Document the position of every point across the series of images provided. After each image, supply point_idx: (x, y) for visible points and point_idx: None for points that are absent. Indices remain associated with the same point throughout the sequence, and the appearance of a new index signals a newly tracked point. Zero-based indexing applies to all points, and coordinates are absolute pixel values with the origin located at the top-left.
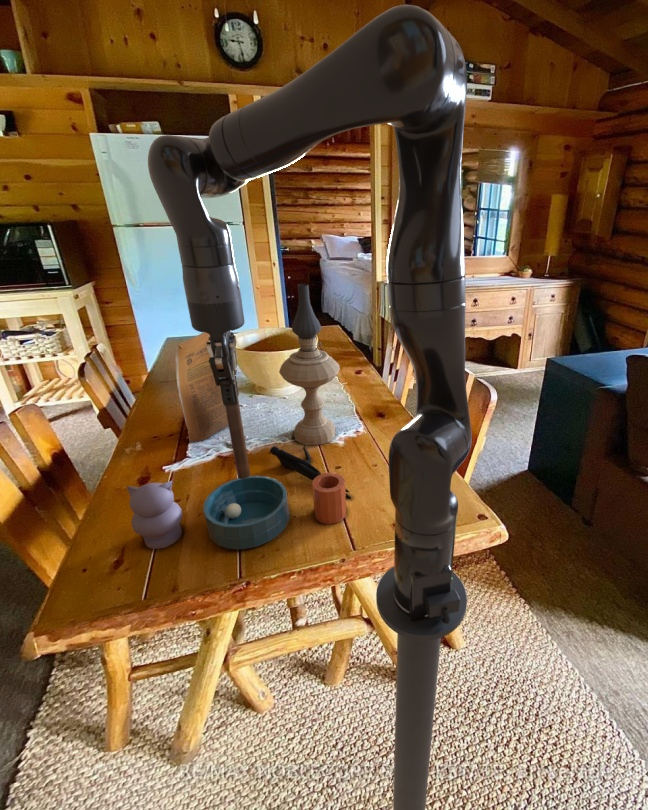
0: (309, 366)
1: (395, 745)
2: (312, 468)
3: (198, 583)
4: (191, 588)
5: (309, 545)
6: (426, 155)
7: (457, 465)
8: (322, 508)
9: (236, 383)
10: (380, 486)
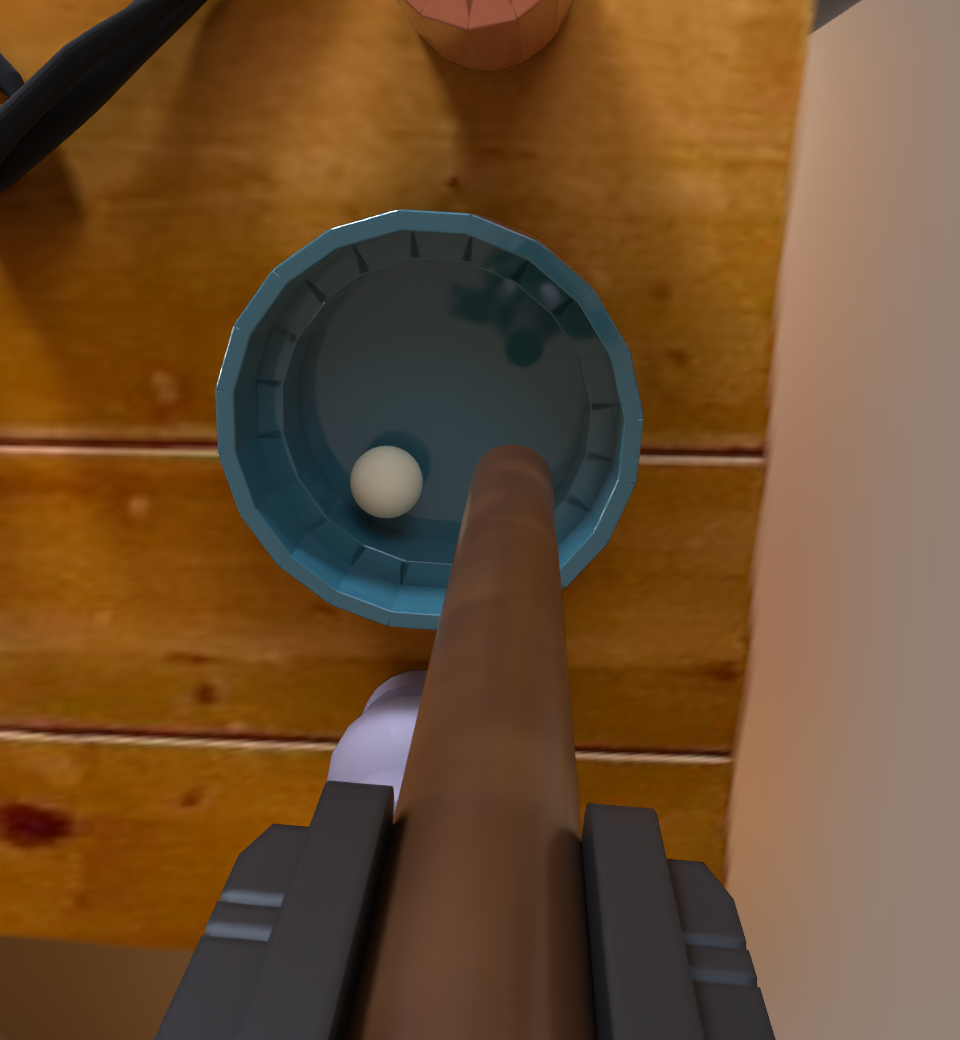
0: None
1: (824, 14)
2: (168, 6)
3: (729, 599)
4: (744, 621)
5: (689, 135)
6: None
7: None
8: (561, 7)
9: (348, 958)
10: None
